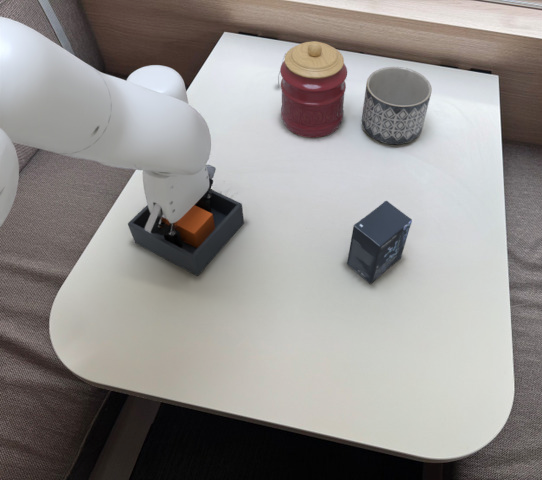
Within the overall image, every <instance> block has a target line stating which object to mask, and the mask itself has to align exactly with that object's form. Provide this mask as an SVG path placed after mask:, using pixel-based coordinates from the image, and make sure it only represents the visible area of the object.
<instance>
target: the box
mask: <svg viewBox="0 0 542 480" xmlns="http://www.w3.org/2000/svg"><path fill="white" fill-rule="evenodd" d="M412 222H413V219H412V218H410V216H408V215H406V214H405V213H404V212H402V211H401V210H400V209H398V208H397V207H396V206H394V205H393V204H392V203H390V202H389V201H388V200H384V201H383V202H382V203H381V204H379V205H378V206H377V207H376V208H375V209H373V210H372V211H370V213H368V214H366V215H365V216H364V217H363V218H361V219H360V220H359V221H358V222H356V223H355V224H353V227H352V233H351V239H350V244H349V250H348V254H347V255H348V256H347V261H346V265H347V266H348V267H349V268H351V269H352V270H353V271H354V272H355V273H357V275H359V276H360V277H361V278H362V279H363V280H364V281H366V282H367V283H368V284H372V283H374V282H375V281H376V280H377V279H379V277H381V276H382V275H383V274H384V273H385V272H387V271H388V270H389V269H390V268H391V267H393V265H395V264H396V263H397V262H399V261H400V260H401V259H402V256H403V253H404V248H405V246H406V242H407V239H408V236H409V232H410V228H411V226H412Z"/></svg>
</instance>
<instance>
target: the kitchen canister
mask: <svg viewBox="0 0 542 480" xmlns="http://www.w3.org/2000/svg"><path fill="white" fill-rule="evenodd" d="M285 53H286V55H285V57H284V60H283V63H282V62H281V65H280V67H279V68H280V70H279V72H280V76H281V78H282V79H281V81H280V89H281V105H280V106H281V107H280V116H281V119H282V122H283V124H284V126H285V127H286V128H287V130H289V131H290V132H291V133H293V134H294V135H298V136H299V137H303V138H304V137H305V138H310V139H311V138H313V139H315V138H322V137H326V136H329V135H331V134H333V133H335V132H336V131H337V130H339V128H340V126H341V124H342V121H343V118H344V113H345V112H344V102H345V93H346V89H347V85H346V82H345V81H346V79H347V77H348V68H347V66H346V63H345V60H344V56H343V54H342V53H341V51H339V50H338V49H336V48H335V47H333V46H331V45H329V44H327V43H325V42H321V41H316V40H314V41H306V42H302V43H299V44H297V45H294V46H293V47H291V48H290V49H288V50H287V51H286V52H285Z"/></svg>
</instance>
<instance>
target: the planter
mask: <svg viewBox="0 0 542 480" xmlns="http://www.w3.org/2000/svg"><path fill="white" fill-rule="evenodd" d="M432 91H433V89H432V85H431V82H430V81H429V80H428V78H426V76H424V75H423V74H422V73H420V72H418V71H416V70H413V69H411V68H407V67H403V66H402V67H401V66H387V67H381V68H379V69H376V70H375V71H373V72H372V73H371V74H370V75H369V76H368V77H367V80H366V83H365V92H364V98H363V99H364V100H363V108H362V114H361V115H362V116H361V125H362V128H363V130H364V131H365V133H366V134H367V135H368V136H370V137H371V138H373V139H374V140H376V141H379V142H380V143H384V144H389V145H403V144H406V143H407V144H408V143H409V142H412V141H414V140H415V139H417V138H418V137H419V136H420V135H421V133H422V131H423V127H424V123H425V119H426V115H427V111H428V108H429V105H430V100H431V96H432Z"/></svg>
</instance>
